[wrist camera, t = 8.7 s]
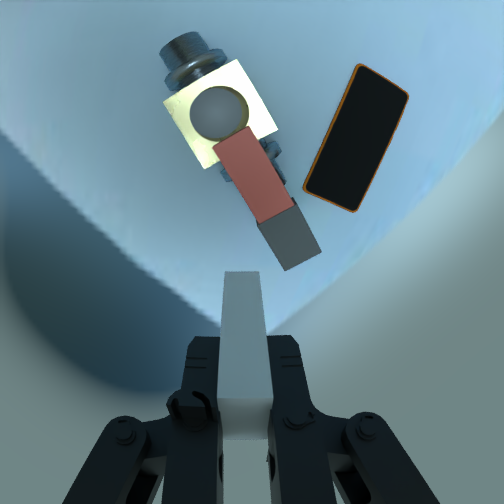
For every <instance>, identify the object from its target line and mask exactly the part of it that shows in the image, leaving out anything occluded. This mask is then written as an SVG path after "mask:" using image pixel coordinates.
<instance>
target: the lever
mask: <svg viewBox="0 0 504 504" xmlns="http://www.w3.org/2000/svg"><path fill="white" fill-rule="evenodd" d="M189 116H190V121H191V124H192V126H193V127H194V129H195V130H196V131H197V132H198V133H200V134H201V135H203V136H205V137H209V138H221V137H224V136H227V135H229V134H230V133H232V132H233V131H234V130H235V129H236V128H237V126H238V125H239V123H240V120H241V117H242V108H241V104H240V102H239V100H238V99H237V97H236V96H235V95H234V94H232V93H231V92H229V91H227V90H225V89H220V88H213V89H208V90H205V91H203V92H202V93H200V94H199V95H198V96H197V97H196V98H195V99H194V101H193V102H192V104H191V107H190V112H189ZM212 149H213V150H214V152H215V153H216V155H217V157H218V158H219V160H220V161H221V163H222V165H223V166H224V168H225V169H226V171H227V173H228V174H229V176H230V177H231V179H232V181H233V182H234V184H235V185H236V187H237V189H238V190H239V192H240V193H241V195H242V197H243V198H244V200H245V202H246V203H247V205H248V206H249V208H250V210H251V211H252V213H253V215H254V216H255V218H256V222H257V227H258V228H259V230H260V231H261V233H262V235H263V236H264V238H265V240H266V241H267V243H268V244H269V246H270V248H271V249H272V251H273V253H274V254H275V256H276V258H277V259H278V261H279V263H280V264H281V266H282V268H283V269H284V271H287V270H289V269H291V268H292V267H294V266H296V265H298V264H300V263H302V262H304V261H306V260H308V259H310V258H312V257H314V256H316V255H318V254H320V253H321V252H322V251H321V249H320V247H319V245H318V243H317V241H316V239H315V237H314V236H313V234H312V232H311V230H310V228H309V226H308V224H307V222H306V220H305V218H304V216H303V214H302V212H301V211H300V209H299V207H298V205H297V203H296V202H295V200H294V198H293V197H292V198H290V196H289V194H288V192H287V190H286V189H285V187H284V185H283V183H282V181H281V180H280V178H279V176H278V174H277V173H276V171H275V169H274V167H273V166H272V164H271V162H270V160H269V159H268V157H267V155H266V153H265V152H264V150H263V148H262V147H261V145H260V143H259V141H258V140H257V138H256V136H255V135H254V133H253V131H252V130H251V128H250V126H249V125H248V126H247V127H245V128H243V129H241V130H239V131H238V132H236V133H234V134H232V135H231V136H229V137H227V138H225V139H224V140H222V141H220V142H219V143H217V144H215V145H214V146H213V147H212Z"/></svg>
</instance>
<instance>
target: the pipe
mask: <svg viewBox="0 0 504 504" xmlns="http://www.w3.org/2000/svg"><path fill="white" fill-rule="evenodd" d="M159 55H160V57H161V58H162V60H163V61H164V63H165V64H166V66H167V68H168V69H169V71H170V72H171V73H170V74H169V75H168V76H167V77H166V78H165V81H164V82H165V84H166V85H167V87H168V88H169V90H170V91H174V90H178V89H180V88H181V91H179V92H177V93H176V94H174V95H173V96H171V97H170V98H168V99H166V100H165V101H163V103H164V105H165V107H166V108H167V110H168V112H169V113H170V115H171V116H172V118H173V120H174V121H175V123H176V124H177V126H178V128H179V129H180V131H181V132H182V134H183V136H184V137H185V139H186V141H187V142H188V144H189V145H190V147H191V149H192V150H193V152H194V153H195V155H196V157H197V158H198V160H199V161H200V163H201V165H202V166H203V168H204V170H205V169H207V168H208V167H210V166H212V165H213V164H215V163H217V162H219V161H220V160H219V158H218V157H217V155H216V153H215V152H214V150H213V149H212V147H213V146H214V145H215V144H217V143H219V142H220V141H222V140H224V139H225V138H227V137H229V136H231V135H232V134H234V133H236V132H238V131H239V130H241V129H243V128H245V127H247V126H248V125H249V126H250V128H251V130H252V131H253V133H254V135H255V136H256V138H257V140H258V141H259V143H260V145H261V147H262V148H263V150H264V152H265V153H266V155H267V157H268V159H269V160H270V162H271V164H272V166H273V167H274V169H275V171H276V173H277V174H278V176H279V178H280V180H281V181H282V183H283V185H285V183H286V179H285V177H284V175H283V173H282V171H281V169H280V168H279V166H278V164H277V162H276V160H275V158H276V157H277V156H278V155H279V154H280V153H281V152H282V151H281V149H280V147H279V145H278V143H277V142H276V141H274V142H270V143H267V144H266V142H265V140H264V139H263V137H264V136H266V135H268V134H270V133H272V132H274V131H276V130H278V128H277V127H276V125H275V123H274V121H273V119H272V118H271V116H270V114H269V112H268V111H267V109H266V107H265V105H264V104H263V102H262V100H261V99H260V97H259V95H258V93H257V92H256V90H255V88H254V87H253V85H252V83H251V82H250V80H249V78H248V77H247V75H246V74H245V72H244V70H243V69H242V67H241V65H240V64H239V62H238V61H237V59H236V60H234V61H232V62H230V63H228V64H226V65H224V66H222V67H220V66H221V65H222V64H223V63H224V62H225V61H226V60H227V57H226V55H225V54H224V52H223V51H222V49H212V50H209V48H208V46H207V45H206V43H205V42H204V40H203V39H202V37H201V36H200V34H199V33H198V32H189V33H186V34H183V35H181V36H179V37H177V38H175V39H173V40H172V41H170V42H169V43H168V44H166V45H165V46H164V47H163V48H162V49H161V51H160V53H159ZM213 88H220V89H225V90H227V91H229V92H231V93H232V94H234V95H235V96H236V97H237V99H238V100H239V102H240V104H241V108H242V117H241V120H240V123H239V125H238V126H237V128H236V129H235V130H234V131H233V132H232V133H230V134H229V135H227V136H224V137H221V138H209V137H205V136H203V135H201V134H200V133H198V132H197V131H196V130H195V129H194V127H193V126H192V124H191V121H190V116H189V112H190V107H191V104H192V102H193V101H194V99H195V98H196V97H197V96H198V95H199V94H200V93H202V92H203V91H205V90H208V89H213ZM220 173H221V174H222V176H223V178H224V179H225V181H226V182H229V181H232V179H231V177H230V176H229V174H228V173H227V171H226V169H225V168H224V169H222V171H221V172H220Z"/></svg>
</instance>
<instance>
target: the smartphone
mask: <svg viewBox="0 0 504 504" xmlns="http://www.w3.org/2000/svg"><path fill="white" fill-rule="evenodd" d="M408 99H409V95H408V93H407V92H406V91H404V90H403V89H402V88H400V87H399V86H397V85H396V84H394V83H393V82H391V81H390V80H388V79H386V78H385V77H383V76H382V75H380V74H379V73H377V72H375V71H374V70H372V69H370V68H369V67H367V66H365V65H363V64H357V65H356V67H355V69H354V72H353V74H352V76H351V79H350V81H349V83H348V86H347V88H346V90H345V93H344V95H343V97H342V99H341V102H340V104H339V106H338V108H337V111H336V113H335V115H334V118H333V120H332V122H331V124H330V127H329V129H328V131H327V133H326V136H325V138H324V140H323V142H322V144H321V147H320V149H319V151H318V153H317V156H316V158H315V160H314V162H313V164H312V167H311V169H310V171H309V173H308V175H307V178H306V180H305V182H304V184H303V190H304V191H305V192H306V193H308V194H311V195H313V196H316V197H318V198H320V199H322V200H325V201H327V202H330V203H332V204H334V205H336V206H338V207H341V208H343V209H345V210H347V211H349V212H352V213H354V212H356V211H357V210H358V208H359V207H360V205H361V203H362V201H363V199H364V197H365V195H366V193H367V191H368V189H369V186H370V184H371V182H372V180H373V178H374V176H375V174H376V172H377V170H378V168H379V166H380V163H381V161H382V159H383V157H384V155H385V153H386V150H387V148H388V146H389V145H390V143H391V140H392V138H393V135H394V133H395V130H396V129H397V127H398V124H399V122H400V120H401V117H402V115H403V112H404V109H405V107H406V104H407V102H408Z"/></svg>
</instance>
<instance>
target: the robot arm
mask: <svg viewBox="0 0 504 504" xmlns="http://www.w3.org/2000/svg"><path fill="white" fill-rule="evenodd" d="M220 335H221V336H220V337H201V336H200V337H199V336H195V337H194V339H193V340H192V341H191V343H190V344H189V346H188V349H187V355H186V361H185V368H184V373H183V380H182V386H181V389H180V390H178V391H175V392H174V393H173V394H172V395H171V396H170V397H169V399H168V401H167V403H166V406H167V408H168V411H169V413H170V415H168V416H167V417H165V418H162V419H159V420H153V421H148V422H141V421H139V420H138V419H136V418H134V417H130V416H120V417H117V418H115V419H112V420H111V421H110V422H109V423H108V424H107V425H106V427H105V428H104V430H103V432H102V433H101V435H100V437H99V439H98V440H97V442H96V444H95V446H94V447H93V449H92V451H91V452H90V454H89V456H88V458H87V460H86V461H85V463H84V465H83V467H82V468H81V470H80V472H79V474H78V476H77V477H76V479H75V481H74V483H73V485H72V486H71V488H70V490H69V492H68V494H67V496H66V497H65V499H64V501H63V503H62V504H152V502H153V500H154V498H155V495H156V493H157V491H158V488H159V486H160V483H161V481H162V479H163V476H164V484H163V493H162V504H223V440H258V439H267V438H268V446H269V449H268V455H267V462H268V465H269V477H270V490H271V502H272V504H337V501H336V496H335V491H334V486H333V481H334V483H335V486H336V487H337V489H338V491H339V493H340V495H341V497H342V499H343V501H344V503H345V504H440V503H439V502H438V500H437V498H436V497H435V495H434V494H433V492H432V491H431V489H430V488H429V486H428V484H427V483H426V481H425V480H424V478H423V477H422V475H421V474H420V472H419V471H418V469H417V468H416V466H415V465H414V463H413V462H412V461H411V459H410V457H409V456H408V454H407V453H406V451H405V450H404V449H403V447H402V445H401V444H400V442H399V441H398V439H397V438H396V437H395V435H394V433H393V432H392V430H391V429H390V427H389V426H388V424H387V423H386V421H384V419H383V418H382V417H381V416H379V415H377V414H375V413H372V412H361V413H357V414H356V415H354V416H353V417H351V418H350V419H346V418H339V417H332V416H328V415H325V414H323V413H321V412H320V411H319V410H317V409H316V408H315V407H314V405H313V404H312V401H311V399H310V395H309V390H308V385H307V381H306V376H305V371H304V367H303V362H302V358H301V353H300V349H299V344H298V343H297V342H296V341H295V340H294V338H293V337H292V336H291V335H275V336H266V328H265V319H264V310H263V301H262V293H261V284H260V276H259V272H225V277H224V290H223V304H222V319H221V334H220ZM164 474H165V475H164Z"/></svg>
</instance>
